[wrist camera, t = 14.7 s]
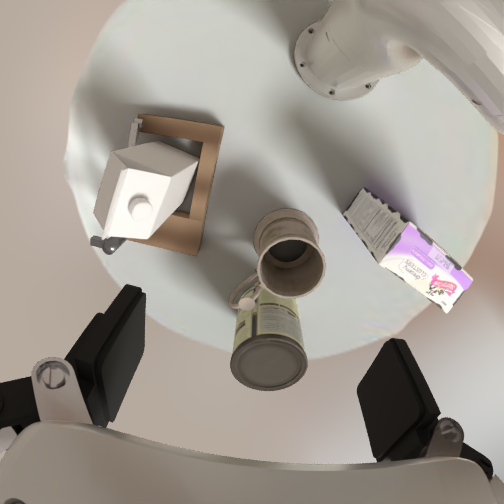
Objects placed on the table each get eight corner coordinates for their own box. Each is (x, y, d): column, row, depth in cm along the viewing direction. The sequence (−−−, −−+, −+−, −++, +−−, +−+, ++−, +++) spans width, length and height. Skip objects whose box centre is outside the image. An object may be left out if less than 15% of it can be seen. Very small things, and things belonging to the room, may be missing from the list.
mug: (297, 196, 43) (309, 222, 32) (329, 249, 46) (348, 288, 35) (216, 246, 47) (202, 286, 36) (252, 292, 50) (248, 340, 39)
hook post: (116, 216, 42) (88, 236, 35) (138, 221, 43) (114, 243, 35) (115, 227, 43) (88, 249, 35) (137, 232, 43) (113, 256, 36)
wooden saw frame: (144, 114, 38) (138, 114, 36) (224, 126, 39) (222, 126, 37) (129, 233, 46) (123, 238, 44) (199, 249, 47) (196, 256, 45)
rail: (144, 118, 39) (131, 118, 35) (151, 119, 39) (139, 119, 35) (130, 218, 45) (118, 228, 41) (137, 220, 45) (125, 230, 41)
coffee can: (292, 334, 53) (298, 393, 40) (235, 328, 53) (227, 387, 40) (304, 286, 49) (316, 342, 36) (241, 278, 49) (233, 334, 36)
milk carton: (142, 183, 43) (73, 224, 25) (158, 140, 40) (90, 155, 23) (183, 202, 44) (134, 255, 26) (202, 159, 41) (158, 185, 24)
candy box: (421, 233, 44) (476, 280, 29) (401, 260, 46) (447, 316, 31) (362, 184, 42) (411, 219, 27) (340, 216, 44) (377, 265, 29)
